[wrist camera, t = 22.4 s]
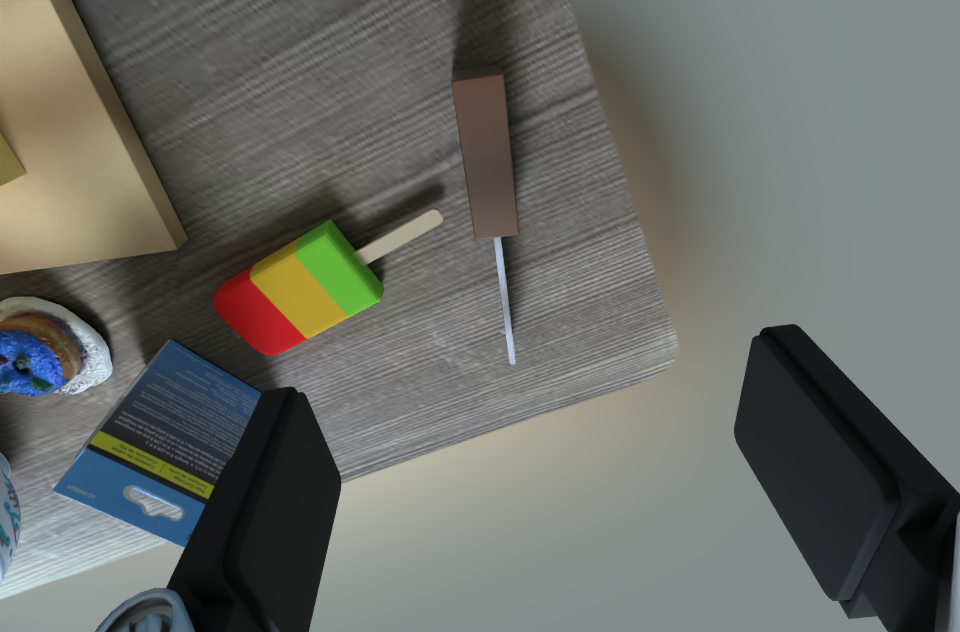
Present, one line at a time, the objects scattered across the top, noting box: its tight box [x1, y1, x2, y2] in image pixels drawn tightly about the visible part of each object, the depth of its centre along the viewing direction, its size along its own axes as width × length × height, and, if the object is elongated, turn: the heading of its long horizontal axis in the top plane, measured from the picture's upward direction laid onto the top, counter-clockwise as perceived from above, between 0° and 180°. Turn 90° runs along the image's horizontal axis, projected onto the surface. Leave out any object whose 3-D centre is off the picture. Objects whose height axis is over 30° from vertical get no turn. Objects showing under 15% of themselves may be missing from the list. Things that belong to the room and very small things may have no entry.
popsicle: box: [213, 208, 443, 355], centre depth 31 cm, size 6×15×2 cm, turn 119°
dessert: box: [0, 296, 113, 396], centre depth 33 cm, size 8×7×6 cm
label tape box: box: [52, 339, 262, 549], centre depth 31 cm, size 9×4×12 cm, turn 44°
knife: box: [451, 64, 519, 365], centre depth 29 cm, size 17×2×3 cm, turn 8°
